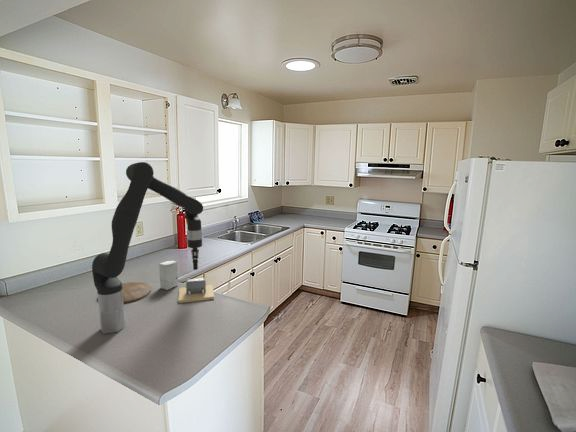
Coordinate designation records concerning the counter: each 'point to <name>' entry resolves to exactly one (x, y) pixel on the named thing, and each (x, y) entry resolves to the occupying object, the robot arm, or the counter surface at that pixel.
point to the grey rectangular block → (195, 286)
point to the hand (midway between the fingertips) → (195, 267)
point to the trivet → (135, 291)
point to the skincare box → (168, 274)
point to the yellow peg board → (196, 295)
